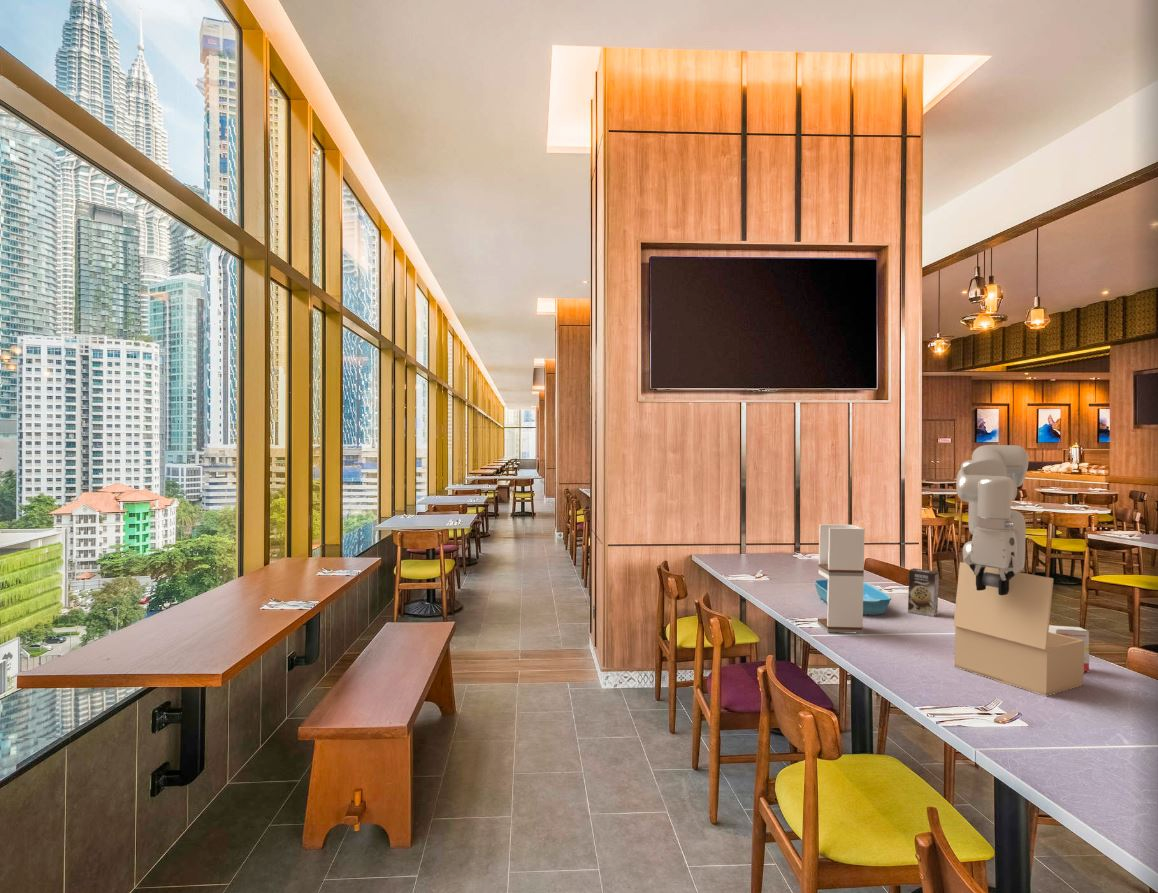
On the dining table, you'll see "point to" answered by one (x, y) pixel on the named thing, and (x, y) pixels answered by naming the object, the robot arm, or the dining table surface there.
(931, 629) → the dining table surface
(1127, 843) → the dining table surface
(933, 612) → the dessert mix box
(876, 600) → the casserole dish
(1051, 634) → the carton
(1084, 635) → the ink box
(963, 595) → the carton lid
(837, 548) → the display case
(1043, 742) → the dining table surface
